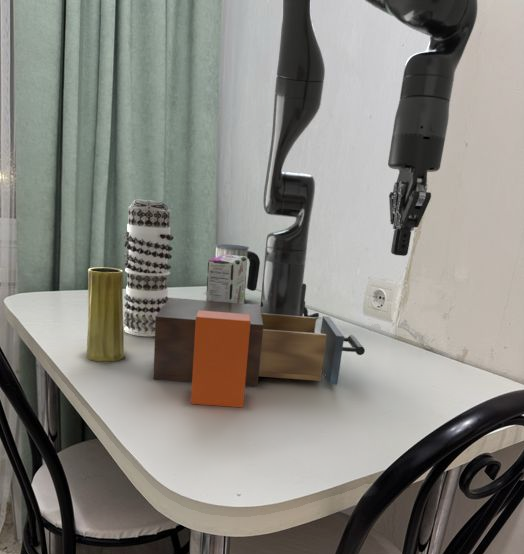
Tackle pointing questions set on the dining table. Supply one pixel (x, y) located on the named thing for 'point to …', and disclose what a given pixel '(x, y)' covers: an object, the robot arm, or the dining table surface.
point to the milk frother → (253, 258)
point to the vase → (105, 315)
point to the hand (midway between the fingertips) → (398, 254)
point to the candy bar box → (227, 279)
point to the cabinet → (181, 335)
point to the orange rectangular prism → (220, 358)
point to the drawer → (302, 348)
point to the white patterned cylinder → (146, 265)
